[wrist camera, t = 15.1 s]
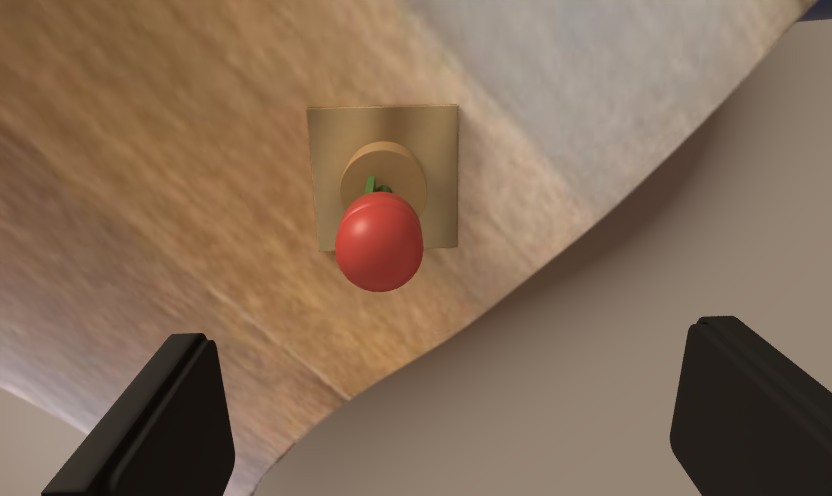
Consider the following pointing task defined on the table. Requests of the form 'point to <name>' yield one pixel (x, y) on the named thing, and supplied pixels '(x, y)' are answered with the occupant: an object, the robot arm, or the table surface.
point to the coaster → (406, 125)
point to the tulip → (381, 217)
